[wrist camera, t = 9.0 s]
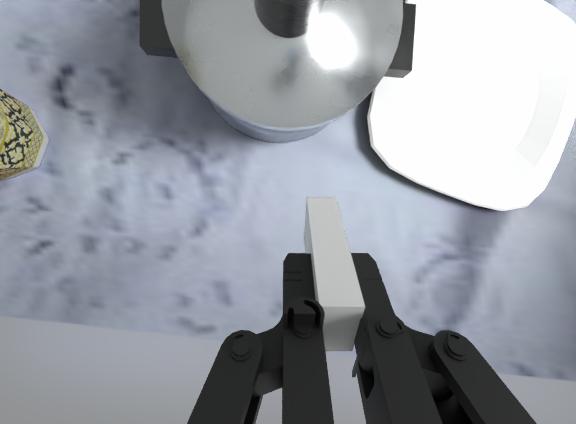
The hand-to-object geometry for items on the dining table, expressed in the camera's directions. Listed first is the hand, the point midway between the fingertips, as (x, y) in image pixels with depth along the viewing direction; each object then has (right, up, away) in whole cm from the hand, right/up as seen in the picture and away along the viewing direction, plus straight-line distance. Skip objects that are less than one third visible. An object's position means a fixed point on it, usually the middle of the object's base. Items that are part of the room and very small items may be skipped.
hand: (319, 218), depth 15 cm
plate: (+18, +12, +15) cm, 26 cm away
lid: (-2, +14, +5) cm, 15 cm away
